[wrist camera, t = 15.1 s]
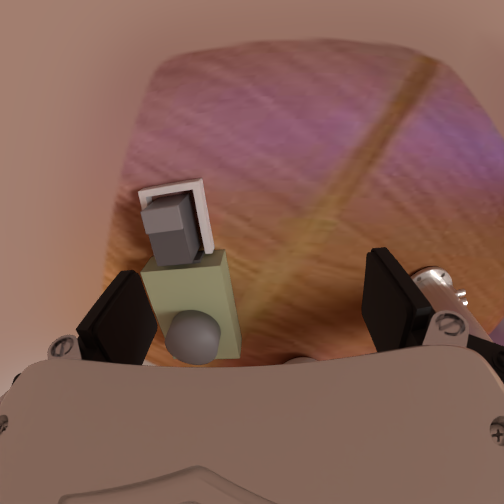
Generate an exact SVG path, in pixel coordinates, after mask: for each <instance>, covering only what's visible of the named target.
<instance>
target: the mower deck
mask: <svg viewBox="0 0 504 504" xmlns="http://www.w3.org/2000/svg"><path fill="white" fill-rule="evenodd" d="M192 189H193V193H194V199H195V204H196V209H197V214H198V219H199V225H200V230H201V234H202V239H203V244H204V249H205V251H204V250H203V251H197V254H196V256H195V258H194V260H193V262H192V263H188V264H177V265H166V266H157V262H156V259H155V256H153V257H151V258H150V260H149V261H148V262H147V264H146V265H145V267H144V268H143V269H142V271H141V272H140V273H141V276H142V279H143V282H144V285H145V287H146V290H147V293H148V296H149V299H150V301H151V304H152V307H153V310H154V312H155V315H156V317H157V320H158V323H159V325H160V328H161V330H162V333H163V335H164V337H165V345H166V348H167V350H168V351H169V352H170V354H171V355H172V356H173V358H174V359H178V360H180V361H182V362H184V363H188V364H193V365H202V364H207V363H209V362H211V361H212V360H214V359H238V358H240V353H241V343H242V337H241V332H240V327H239V322H238V316H237V311H236V306H235V301H234V296H233V291H232V285H231V280H230V275H229V269H228V264H227V258H226V253H225V250H214V242H213V237H212V232H211V226H210V221H209V215H208V210H207V204H206V199H205V193H204V187H203V181H202V178H199V179H193V180H187V181H181V182H175V183H169V184H163V185H158V186H152V187H147V188H143V189H141V190H140V191H138V194H139V199H140V203H141V207H142V210H144V209H145V208H146V207H147V206H149V205H150V204H151V203H152V202H153V201H152V197H151V196H156V195H161V194H167V193H173V192H180V191H186V190H192ZM149 239H150V238H149ZM151 246H152V245H151ZM213 250H214V251H213ZM153 253H154V252H153Z"/></svg>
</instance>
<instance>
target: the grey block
mask: <svg viewBox="0 0 504 504" xmlns="http://www.w3.org/2000/svg"><path fill="white" fill-rule="evenodd" d="M141 216H142V220H143V224H144V228H145V231H146V234H148V235H149V238H150V242H151V245H152V249H153V252H154V256H155V259H156V262H157V266H166V265H177V264H188V263H192V262H193V260H194V258H195V256H196V254H197V251H198V249H199V247H200V245H201V243H200V238H199V233H198V229H197V224H196V219H195V214H194V209H193V204H192V199H191V194H190V193H185V194H179V195H172V196H167V197H161V198H157V199H156V200H155V201H154V202H152V203H151V204H150V205H149V206H147V207H146V208H145V209H144V210H142V211H141Z"/></svg>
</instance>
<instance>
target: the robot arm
mask: <svg viewBox="0 0 504 504" xmlns="http://www.w3.org/2000/svg"><path fill="white" fill-rule="evenodd" d="M465 294H466V291H465V289H459V290H455V288H454V287H453V286H452V280H451V277H450V275H449V274H448V273H447V272H446V271H445V270H444V269H442V268H440V267H428V268H425V269H422V270H420V271H418V272H417V273H415V274H414V275H413V276H411V277H410V276H409V275H408V274H407V272H406V271H405V270H404V269H403V267H402V266H401V265H400V264H399V262H398V261H397V260H396V259H395V258H394V256H393V255H392V254H391V253H390V252H389V250H388V249H387V248H386V247H382V248H372V249H371V252H368V253H367V257H366V270H365V281H364V291H363V300H362V316H363V318H364V321H365V323H366V325H367V328H368V330H369V332H370V335H371V337H372V340H373V342H374V345H375V347H376V350H377V352H376V353H371V354H365V355H359V356H352V357H345V358H338V359H331V360H323V361H314V362H304V363H294V364H282V365H268V366H250V367H214V368H199V367H163V366H144V365H142V364H143V361H144V359H145V357H146V354H147V352H148V350H149V347H150V345H151V343H152V340H153V338H154V336H155V334H156V331H157V322H156V319H155V317H154V314H153V312H152V309H151V306H150V304H149V301H148V298H147V295H146V293H145V290H144V287H143V284H142V281H141V278H140V276H139V274H138V273H136V272H135V271H134V270H127V271H121V272H120V273H119V274H118V275H117V276H116V277H115V279H114V280H113V281H112V282H111V284H110V285H109V286H108V287H107V289H106V290H105V291H104V292H103V294H102V295H101V296H100V298H99V299H98V300H97V302H96V303H95V304H94V305H93V307H92V308H91V309H90V311H89V312H88V314H87V315H86V316H85V318H84V319H83V320H82V322H81V323H80V324H79V326H78V327H77V328H76V331H77V333H78V334H79V337H78V338H76V337H75V336H73V335H65V336H61V337H60V338H58V339H56V340H55V341H54V342H53V343H52V344H51V345H50V347H49V349H48V360H44V361H40V362H37V363H34V364H32V365H30V366H28V367H27V368H26V369H25V370H24V371H23V372H22V373H20V374H18V375H17V376H16V377H15V378H14V381H13V383H12V386H11V388H10V389H9V390H8V391H7V392H6V393H5V394H4V395H3V396H1V397H0V504H504V346H501V345H498V344H496V343H494V342H493V341H492V340H491V339H490V337H489V336H488V335H487V333H486V332H485V331H484V329H483V328H482V327H481V325H480V324H479V323H478V321H477V320H476V319H475V318H474V316H473V315H472V314H471V313H470V311H469V310H468V309H467V308H466V306H467V299H466V298H465V297H463V298H458V297H461V296H464V295H465Z"/></svg>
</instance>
